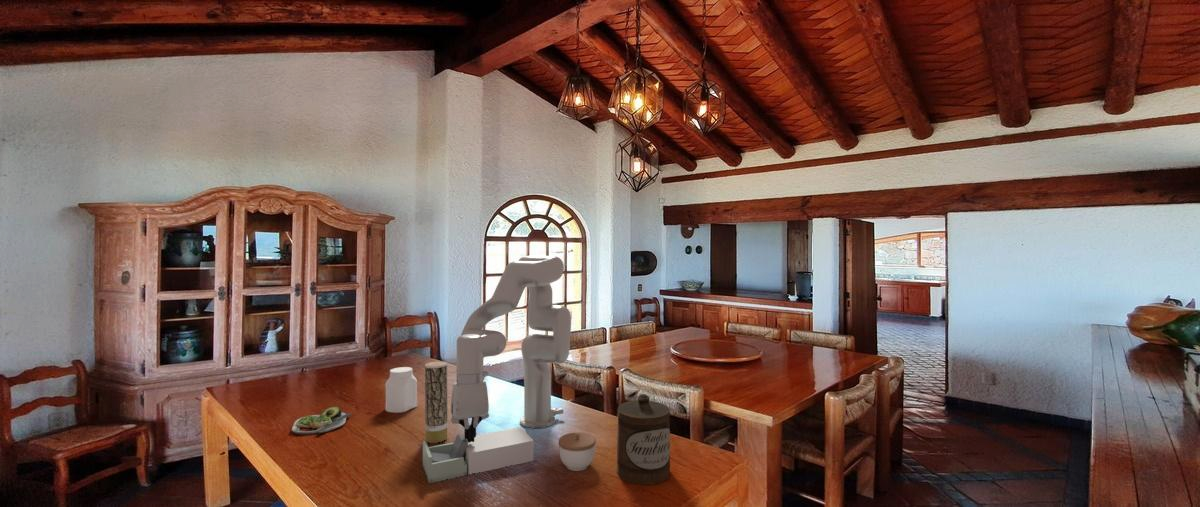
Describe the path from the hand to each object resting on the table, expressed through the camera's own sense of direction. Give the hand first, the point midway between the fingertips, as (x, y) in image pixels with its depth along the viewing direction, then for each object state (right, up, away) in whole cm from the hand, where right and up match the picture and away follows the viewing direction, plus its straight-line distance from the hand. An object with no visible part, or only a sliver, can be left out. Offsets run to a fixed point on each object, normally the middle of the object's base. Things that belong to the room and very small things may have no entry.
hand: (470, 440), depth 140 cm
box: (-6, -7, -3) cm, 10 cm away
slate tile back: (-2, -2, -1) cm, 3 cm away
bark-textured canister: (-16, -7, +18) cm, 25 cm away
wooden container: (+50, -8, -4) cm, 51 cm away
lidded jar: (+31, -8, 0) cm, 32 cm away
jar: (-40, -7, +49) cm, 64 cm away
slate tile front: (-7, -3, -4) cm, 9 cm away
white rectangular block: (+7, -7, +4) cm, 10 cm away
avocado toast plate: (-61, -7, +31) cm, 69 cm away
